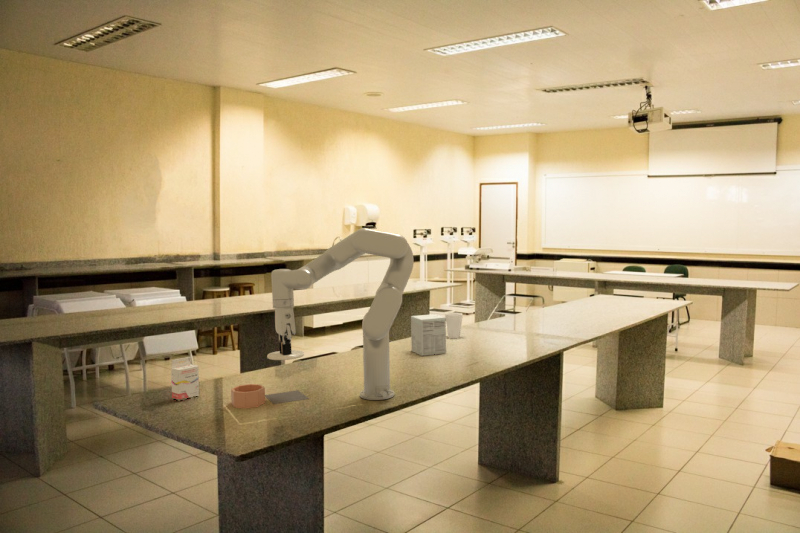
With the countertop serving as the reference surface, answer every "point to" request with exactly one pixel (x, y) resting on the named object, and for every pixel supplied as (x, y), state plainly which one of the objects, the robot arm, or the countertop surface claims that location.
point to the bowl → (248, 396)
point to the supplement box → (428, 334)
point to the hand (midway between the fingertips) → (285, 353)
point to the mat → (286, 397)
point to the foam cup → (453, 324)
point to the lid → (279, 356)
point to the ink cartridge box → (184, 379)
